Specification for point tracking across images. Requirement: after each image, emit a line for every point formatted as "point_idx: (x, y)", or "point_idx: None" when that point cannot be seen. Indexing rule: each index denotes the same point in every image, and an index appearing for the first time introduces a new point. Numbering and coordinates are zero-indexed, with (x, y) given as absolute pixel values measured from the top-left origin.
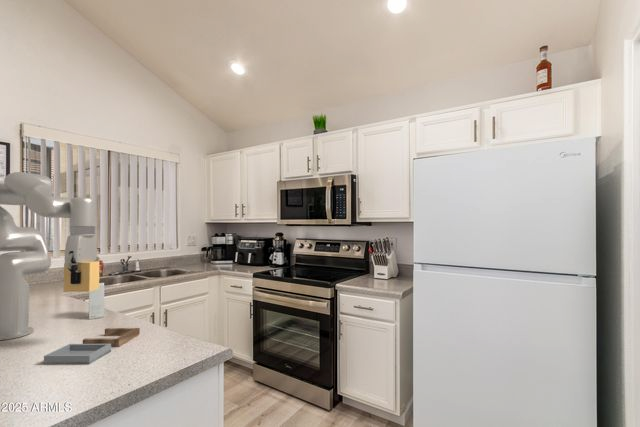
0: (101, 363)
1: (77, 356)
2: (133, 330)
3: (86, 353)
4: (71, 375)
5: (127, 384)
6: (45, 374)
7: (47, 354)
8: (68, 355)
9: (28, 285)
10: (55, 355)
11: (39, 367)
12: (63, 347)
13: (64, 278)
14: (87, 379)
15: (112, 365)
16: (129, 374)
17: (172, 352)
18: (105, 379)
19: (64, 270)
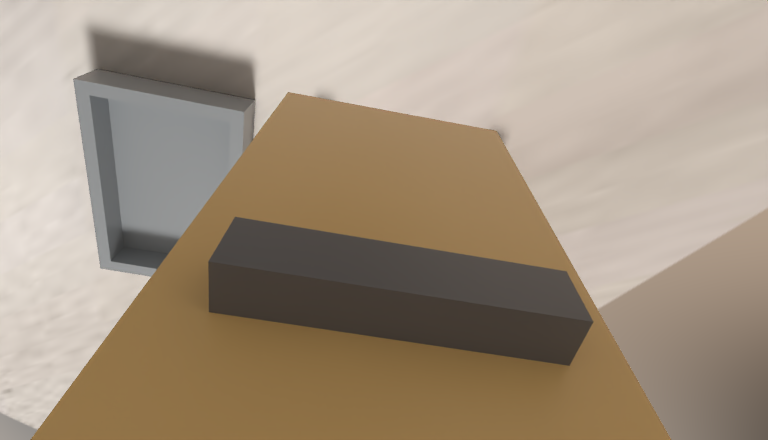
0: (130, 282)
1: (96, 224)
2: None
3: (200, 203)
4: (23, 234)
5: (6, 387)
6: (10, 140)
7: (91, 85)
8: (93, 189)
9: None
10: (84, 133)
11: (65, 70)
12: (190, 109)
13: (224, 192)
14: (8, 291)
15: (117, 318)
16: (62, 376)
17: None
18: (20, 334)
19: (131, 319)
